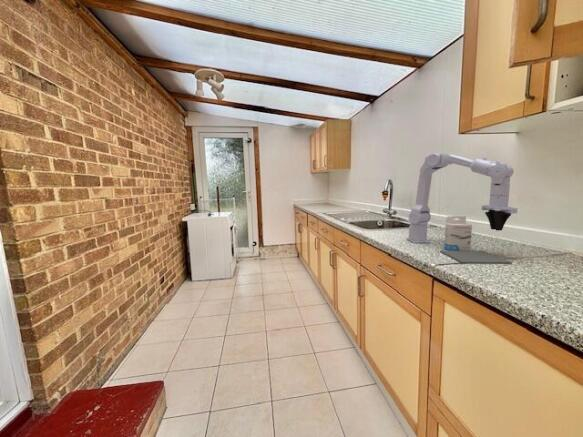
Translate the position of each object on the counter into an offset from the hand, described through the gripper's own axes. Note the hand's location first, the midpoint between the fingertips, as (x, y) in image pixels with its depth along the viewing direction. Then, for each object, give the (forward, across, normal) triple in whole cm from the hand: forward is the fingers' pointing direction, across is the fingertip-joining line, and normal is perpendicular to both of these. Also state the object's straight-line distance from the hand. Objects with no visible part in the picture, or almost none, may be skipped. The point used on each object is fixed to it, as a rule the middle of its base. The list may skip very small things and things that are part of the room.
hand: (496, 229), depth 100 cm
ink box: (+11, -9, -9) cm, 17 cm away
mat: (+10, +2, -10) cm, 15 cm away
